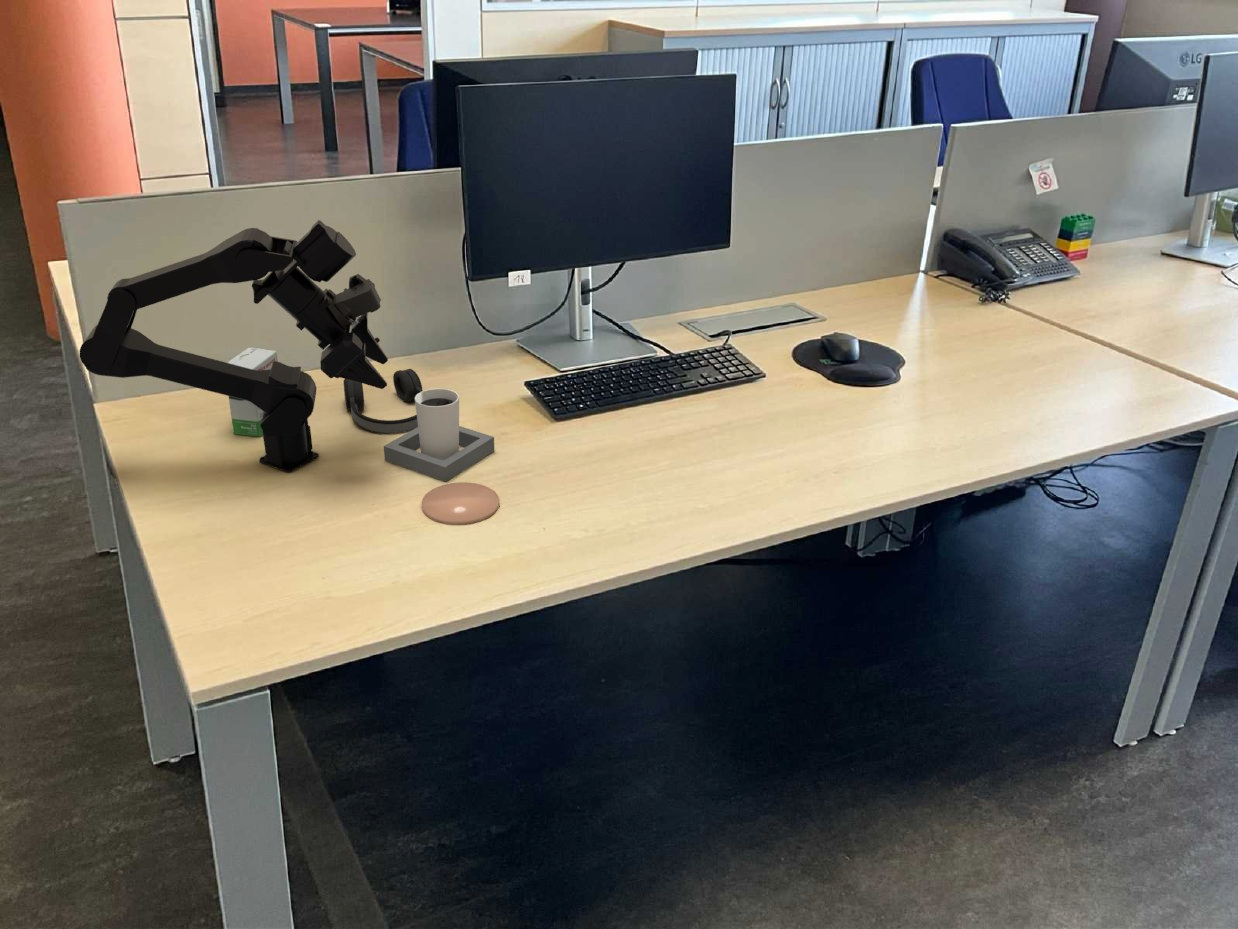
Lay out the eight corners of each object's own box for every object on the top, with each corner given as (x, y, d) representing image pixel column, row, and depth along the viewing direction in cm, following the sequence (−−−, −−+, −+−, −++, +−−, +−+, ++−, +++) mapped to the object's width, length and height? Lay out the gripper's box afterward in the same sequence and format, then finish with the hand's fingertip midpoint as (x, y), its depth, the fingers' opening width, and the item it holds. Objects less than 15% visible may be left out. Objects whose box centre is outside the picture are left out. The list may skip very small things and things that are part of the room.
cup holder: (445, 481, 162) (444, 467, 160) (384, 460, 167) (383, 446, 166) (494, 451, 171) (494, 436, 170) (435, 431, 176) (434, 417, 175)
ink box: (260, 438, 172) (251, 369, 167) (232, 434, 173) (221, 365, 168) (286, 415, 180) (277, 348, 174) (258, 411, 181) (249, 345, 175)
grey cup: (441, 442, 173) (438, 384, 168) (470, 455, 169) (468, 397, 165) (409, 456, 168) (405, 397, 164) (438, 470, 165) (435, 410, 160)
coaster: (467, 532, 149) (466, 529, 149) (405, 509, 154) (405, 506, 154) (514, 499, 158) (514, 495, 157) (454, 478, 163) (454, 475, 162)
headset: (406, 332, 188) (440, 386, 174) (407, 378, 193) (441, 434, 179) (331, 342, 183) (360, 398, 169) (334, 389, 188) (363, 448, 174)
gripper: (342, 286, 145) (425, 363, 153) (348, 245, 162) (423, 316, 169) (284, 340, 148) (369, 414, 155) (296, 294, 164) (372, 362, 171)
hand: (385, 374), depth 162 cm, fingers open, 9 cm apart
